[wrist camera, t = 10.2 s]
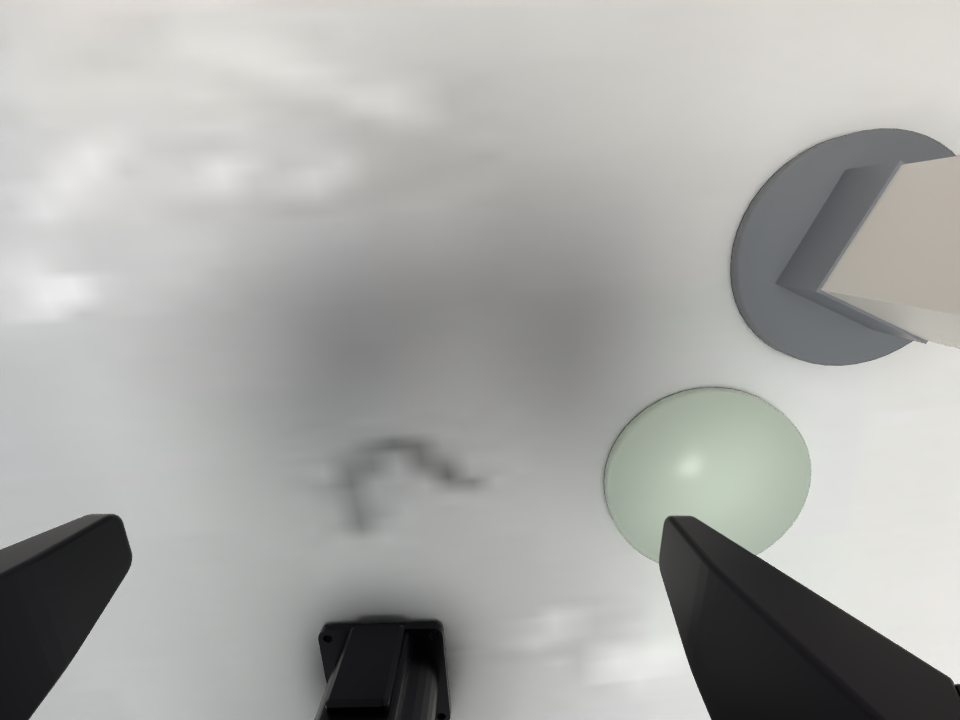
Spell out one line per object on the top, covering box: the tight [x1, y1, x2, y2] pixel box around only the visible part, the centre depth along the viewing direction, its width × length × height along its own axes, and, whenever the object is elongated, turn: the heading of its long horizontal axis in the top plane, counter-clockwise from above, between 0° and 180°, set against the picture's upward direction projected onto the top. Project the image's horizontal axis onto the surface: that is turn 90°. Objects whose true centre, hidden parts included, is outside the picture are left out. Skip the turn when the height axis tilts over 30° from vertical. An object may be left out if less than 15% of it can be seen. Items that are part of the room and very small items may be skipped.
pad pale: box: [604, 387, 811, 563], centre depth 21 cm, size 9×9×1 cm
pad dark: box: [731, 129, 956, 366], centre depth 18 cm, size 9×9×1 cm
